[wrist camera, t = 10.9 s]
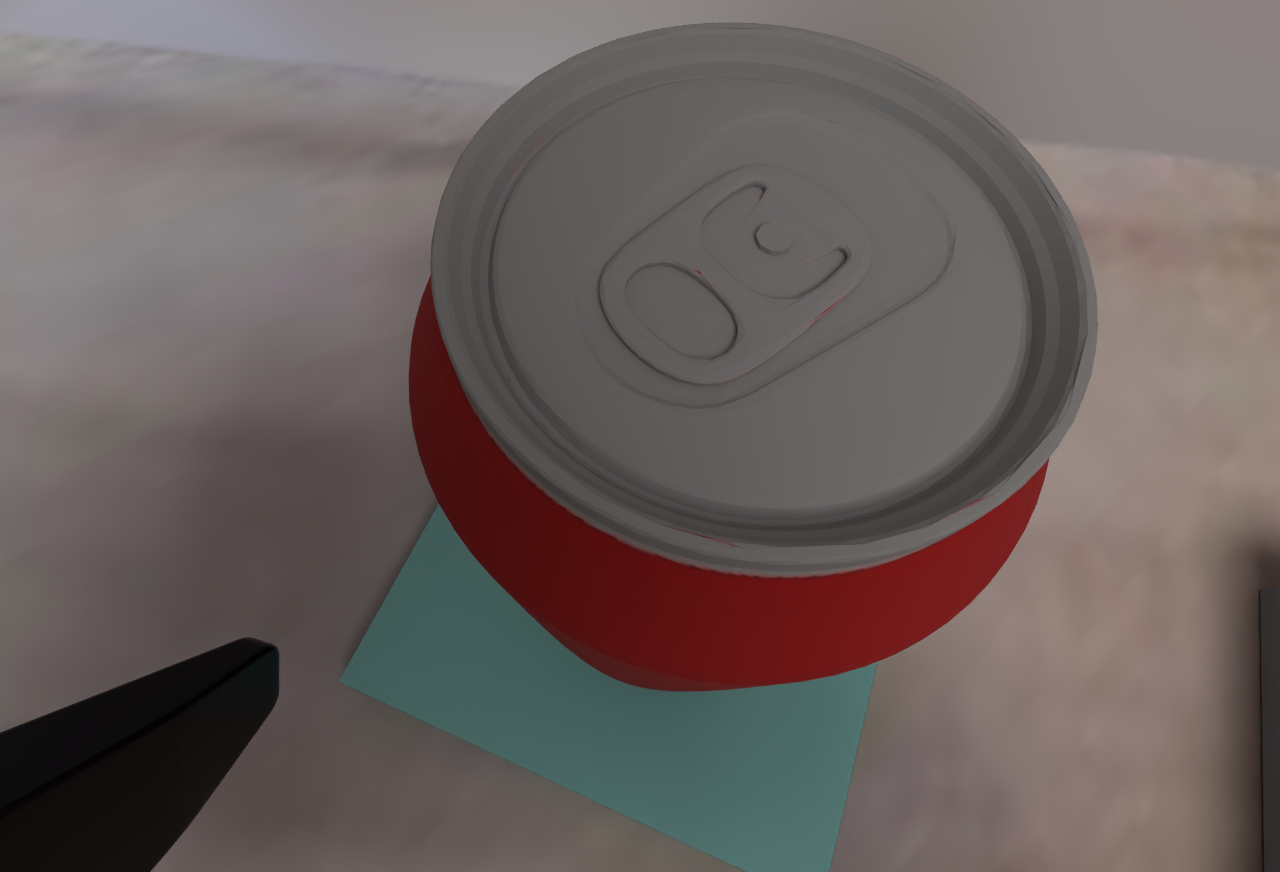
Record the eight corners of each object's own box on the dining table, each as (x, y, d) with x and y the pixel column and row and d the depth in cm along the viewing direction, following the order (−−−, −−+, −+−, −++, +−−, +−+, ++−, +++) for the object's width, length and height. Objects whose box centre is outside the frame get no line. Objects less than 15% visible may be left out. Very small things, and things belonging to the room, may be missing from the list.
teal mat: (813, 898, 14) (821, 907, 13) (349, 682, 15) (338, 681, 14) (919, 443, 18) (929, 435, 18) (554, 310, 20) (553, 299, 19)
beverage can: (844, 563, 16) (1347, 267, 5) (657, 757, 14) (797, 990, 3) (669, 392, 18) (749, -102, 7) (482, 543, 16) (170, 198, 5)
